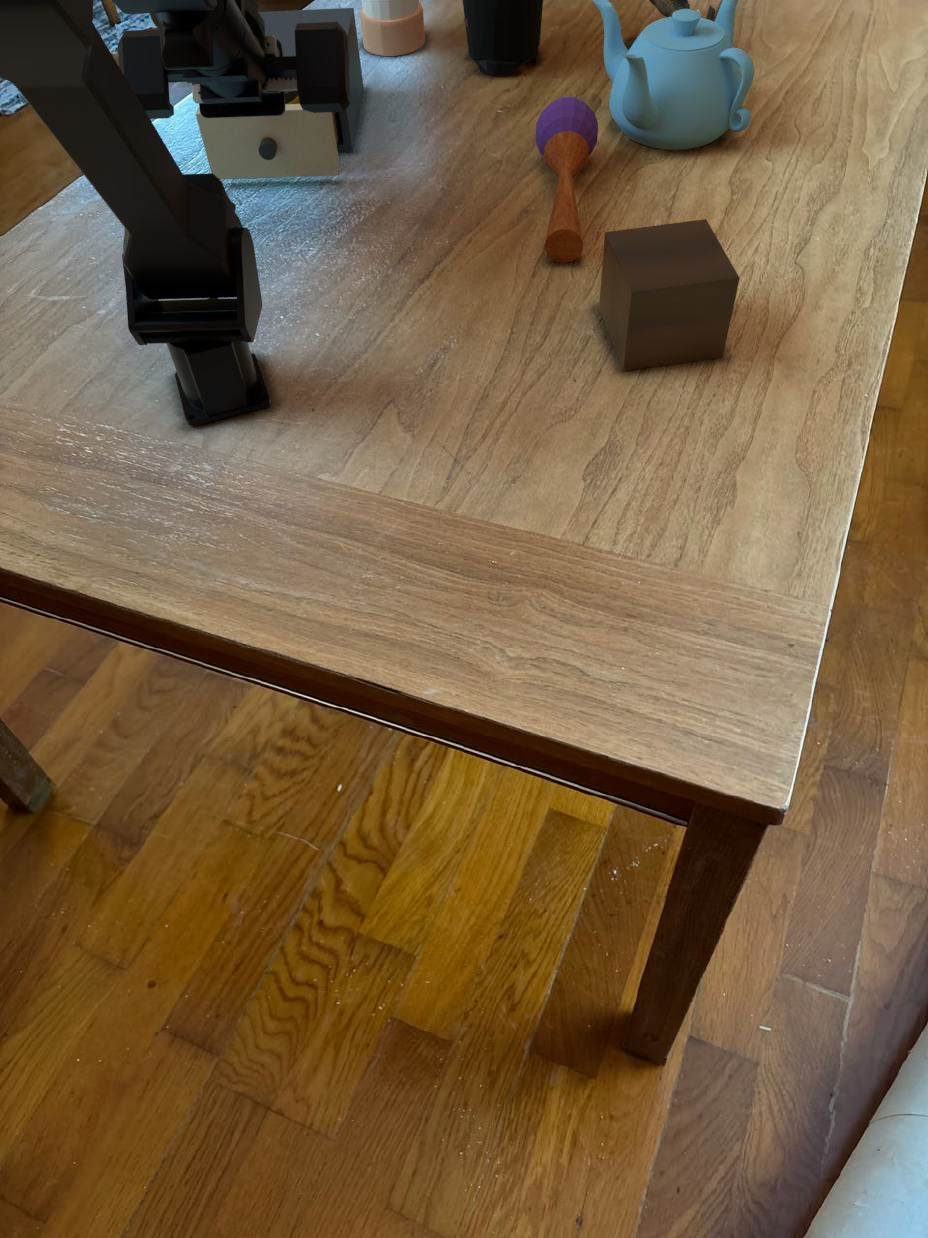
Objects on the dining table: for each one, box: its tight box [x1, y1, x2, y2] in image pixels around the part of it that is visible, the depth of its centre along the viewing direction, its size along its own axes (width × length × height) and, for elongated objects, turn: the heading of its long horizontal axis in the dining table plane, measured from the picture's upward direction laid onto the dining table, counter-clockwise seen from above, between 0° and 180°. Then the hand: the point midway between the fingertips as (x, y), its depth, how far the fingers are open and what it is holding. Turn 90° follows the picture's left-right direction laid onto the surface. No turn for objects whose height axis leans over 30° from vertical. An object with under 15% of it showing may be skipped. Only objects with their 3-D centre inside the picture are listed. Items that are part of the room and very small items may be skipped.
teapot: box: [592, 0, 755, 151], centre depth 91 cm, size 15×15×10 cm
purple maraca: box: [535, 96, 599, 264], centre depth 86 cm, size 6×6×20 cm
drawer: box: [195, 78, 341, 181], centre depth 92 cm, size 14×12×6 cm
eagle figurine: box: [626, 0, 723, 50], centre depth 103 cm, size 8×7×9 cm
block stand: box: [598, 218, 741, 372], centre depth 73 cm, size 8×8×7 cm
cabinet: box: [259, 7, 365, 154], centre depth 96 cm, size 14×14×8 cm
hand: (261, 109), depth 86 cm, fingers closed, pressing on drawer
